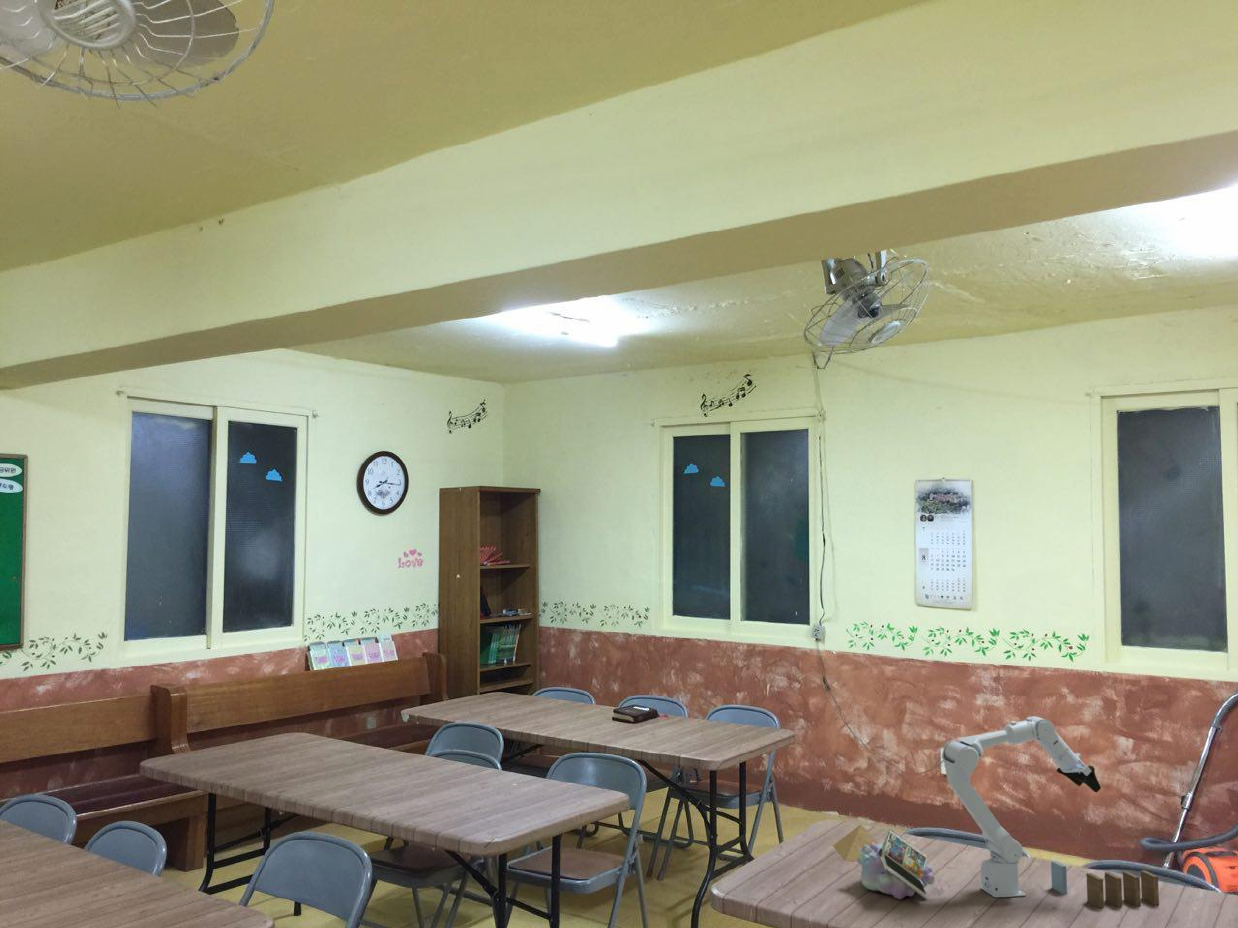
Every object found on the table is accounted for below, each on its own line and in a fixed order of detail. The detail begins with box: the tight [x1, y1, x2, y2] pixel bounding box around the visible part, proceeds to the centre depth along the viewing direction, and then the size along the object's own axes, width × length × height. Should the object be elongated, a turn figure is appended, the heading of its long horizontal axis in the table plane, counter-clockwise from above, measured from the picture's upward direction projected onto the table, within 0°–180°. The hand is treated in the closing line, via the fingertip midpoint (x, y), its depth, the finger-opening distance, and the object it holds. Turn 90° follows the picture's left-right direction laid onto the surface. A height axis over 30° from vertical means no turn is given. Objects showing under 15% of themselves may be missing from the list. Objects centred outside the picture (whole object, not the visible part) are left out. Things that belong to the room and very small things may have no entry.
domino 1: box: [1050, 860, 1068, 895], centre depth 272 cm, size 1×5×8 cm, turn 9°
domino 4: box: [1122, 870, 1142, 907], centre depth 263 cm, size 1×5×8 cm, turn 9°
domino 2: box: [1086, 872, 1105, 909], centre depth 261 cm, size 1×5×8 cm, turn 9°
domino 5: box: [1140, 869, 1160, 906], centre depth 264 cm, size 1×5×8 cm, turn 9°
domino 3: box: [1104, 871, 1123, 908], centre depth 262 cm, size 1×5×8 cm, turn 9°
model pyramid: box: [832, 824, 879, 862], centre depth 303 cm, size 17×17×10 cm
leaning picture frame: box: [857, 827, 936, 900], centre depth 271 cm, size 20×22×18 cm
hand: (1089, 786), depth 276 cm, fingers open, 7 cm apart
